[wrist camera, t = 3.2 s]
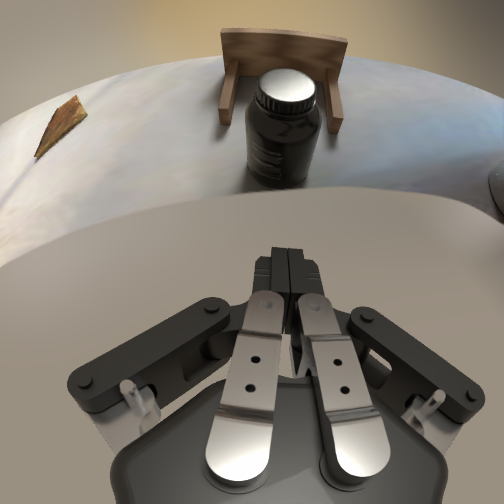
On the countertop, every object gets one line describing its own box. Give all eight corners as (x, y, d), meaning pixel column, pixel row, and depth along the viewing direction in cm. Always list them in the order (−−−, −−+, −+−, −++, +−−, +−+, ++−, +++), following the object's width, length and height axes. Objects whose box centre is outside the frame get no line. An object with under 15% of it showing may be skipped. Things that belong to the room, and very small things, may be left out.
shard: (38, 161, 33) (32, 156, 31) (32, 137, 35) (27, 132, 33) (90, 117, 35) (85, 110, 33) (79, 98, 36) (75, 91, 34)
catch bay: (335, 79, 35) (346, 38, 27) (343, 134, 32) (361, 90, 24) (226, 71, 35) (221, 28, 27) (214, 124, 32) (205, 77, 25)
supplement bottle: (320, 176, 30) (348, 101, 18) (266, 200, 29) (270, 126, 18) (288, 133, 32) (299, 54, 20) (237, 153, 31) (228, 73, 19)
